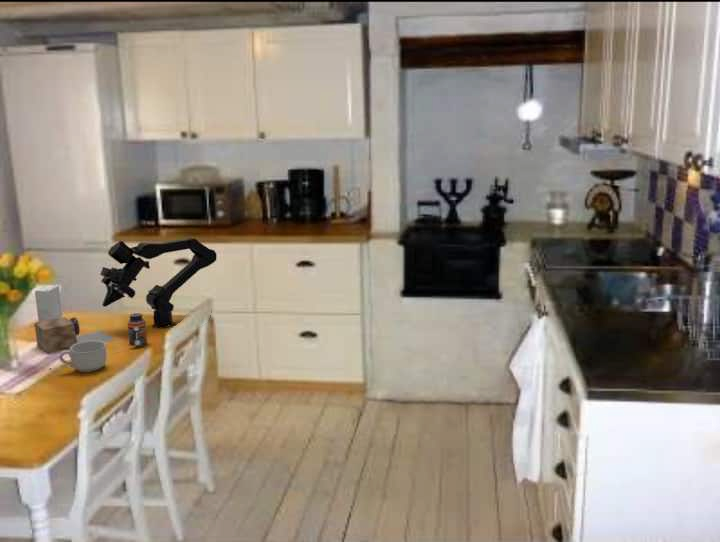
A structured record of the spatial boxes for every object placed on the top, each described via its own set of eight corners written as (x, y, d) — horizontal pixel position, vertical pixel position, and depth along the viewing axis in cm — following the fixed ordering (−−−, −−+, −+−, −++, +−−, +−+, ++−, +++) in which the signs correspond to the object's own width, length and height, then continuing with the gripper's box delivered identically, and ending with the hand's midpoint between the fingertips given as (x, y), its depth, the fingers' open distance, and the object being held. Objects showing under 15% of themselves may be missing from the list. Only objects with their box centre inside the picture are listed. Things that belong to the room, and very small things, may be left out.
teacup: (108, 361, 223) (105, 338, 222) (108, 372, 213) (105, 347, 212) (62, 367, 218) (59, 344, 217) (60, 379, 209) (57, 354, 207)
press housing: (67, 339, 244) (64, 317, 242) (77, 346, 236) (74, 323, 234) (37, 346, 238) (34, 323, 236) (47, 353, 230) (43, 329, 228)
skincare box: (49, 320, 273) (45, 285, 270) (64, 320, 273) (59, 284, 270) (38, 327, 265) (33, 290, 262) (53, 327, 265) (48, 290, 261)
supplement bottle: (142, 348, 235) (138, 317, 233) (126, 348, 236) (123, 316, 234) (150, 343, 241) (147, 312, 238) (135, 342, 242) (132, 312, 240)
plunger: (74, 333, 243) (72, 315, 242) (80, 336, 239) (78, 319, 237) (43, 339, 237) (40, 322, 235) (48, 343, 232) (46, 325, 230)
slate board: (101, 333, 254) (100, 330, 254) (116, 342, 243) (116, 339, 243) (36, 347, 240) (35, 345, 239) (49, 357, 228) (48, 355, 228)
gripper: (103, 255, 252) (76, 289, 248) (123, 261, 238) (95, 298, 234) (126, 272, 259) (100, 306, 254) (146, 280, 245) (120, 315, 240)
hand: (103, 306), depth 246 cm, fingers closed
